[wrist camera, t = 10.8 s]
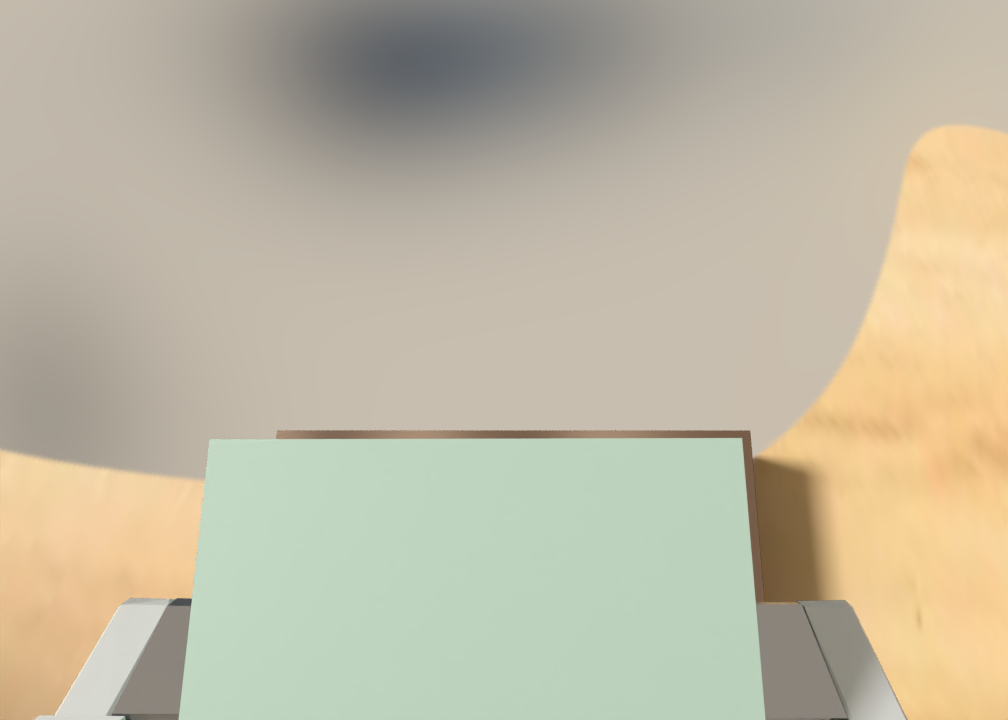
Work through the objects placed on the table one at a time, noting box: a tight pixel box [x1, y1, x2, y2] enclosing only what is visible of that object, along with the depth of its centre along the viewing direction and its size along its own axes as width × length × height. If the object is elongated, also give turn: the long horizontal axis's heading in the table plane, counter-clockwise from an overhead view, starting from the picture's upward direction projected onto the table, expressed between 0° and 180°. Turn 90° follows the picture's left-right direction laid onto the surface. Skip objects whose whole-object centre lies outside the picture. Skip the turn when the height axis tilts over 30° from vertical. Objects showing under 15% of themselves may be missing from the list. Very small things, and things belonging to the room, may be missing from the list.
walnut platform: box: [276, 431, 764, 602], centre depth 30 cm, size 16×16×3 cm
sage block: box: [179, 438, 765, 720], centre depth 11 cm, size 4×4×8 cm
